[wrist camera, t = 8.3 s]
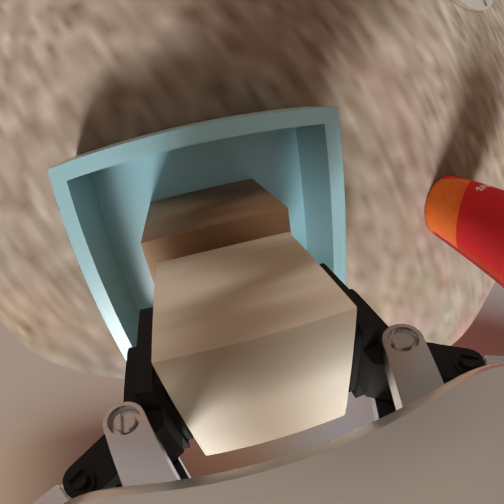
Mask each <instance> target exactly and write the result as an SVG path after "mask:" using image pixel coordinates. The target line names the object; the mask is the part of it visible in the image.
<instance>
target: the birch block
mask: <svg viewBox="0 0 504 504" xmlns="http://www.w3.org/2000/svg"><path fill="white" fill-rule="evenodd" d="M356 315H357V306H356V305H355V304H354V303H353V302H352V301H351V300H350V298H349V297H348V296H347V295H346V294H345V293H344V292H343V291H342V289H341V288H340V287H339V286H338V285H337V284H336V283H335V282H334V280H333V279H332V278H331V277H330V276H329V275H328V274H327V273H326V272H325V270H324V269H323V268H322V267H321V266H320V265H319V264H318V263H317V262H316V261H315V259H314V258H313V257H312V256H311V255H310V254H309V253H308V252H307V251H306V250H305V249H304V247H303V246H302V245H301V244H300V243H299V242H298V241H297V240H296V239H295V238H294V237H293V236H292V234H291V233H290V232H286V233H282V234H277V235H273V236H269V237H264V238H260V239H256V240H252V241H247V242H243V243H239V244H235V245H231V246H226V247H222V248H218V249H214V250H210V251H205V252H201V253H197V254H193V255H189V256H185V257H181V258H177V259H172V260H168V261H164V262H160V263H156V275H155V289H154V305H153V325H152V359H151V363H152V365H153V367H154V369H155V371H156V372H157V374H158V376H159V378H160V380H161V382H162V384H163V385H164V387H165V389H166V391H167V393H168V394H169V396H170V398H171V400H172V401H173V403H174V405H175V407H176V408H177V410H178V412H179V413H180V415H181V417H182V418H183V420H184V422H185V423H186V425H187V427H188V428H189V430H190V431H191V433H192V435H193V436H194V438H195V439H196V441H197V442H198V444H199V445H200V447H201V448H202V450H203V452H204V453H205V454H206V455H212V454H217V453H222V452H227V451H231V450H236V449H240V448H244V447H248V446H252V445H256V444H259V443H263V442H267V441H270V440H274V439H277V438H280V437H284V436H287V435H290V434H293V433H296V432H300V431H303V430H306V429H309V428H311V427H314V426H317V425H320V424H323V423H325V422H328V421H331V420H333V419H336V418H338V417H341V416H343V415H345V410H346V404H347V398H348V391H349V383H350V376H351V367H352V359H353V349H354V339H355V328H356Z"/></svg>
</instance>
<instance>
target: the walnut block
mask: <svg viewBox="0 0 504 504" xmlns="http://www.w3.org/2000/svg"><path fill="white" fill-rule="evenodd" d="M286 232H290V233H291V229H290V220H289V211H288V208H287V207H286V206H285V205H284V204H282V203H281V202H280V201H279V200H278V199H277V198H275V197H274V196H273V195H272V194H271V193H269V192H268V191H267V190H266V189H264V188H263V187H262V186H261V185H260V184H258V183H257V182H256V181H255V180H254V179H247V180H242V181H238V182H233V183H228V184H224V185H219V186H215V187H210V188H206V189H201V190H197V191H193V192H189V193H184V194H180V195H176V196H172V197H168V198H164V199H160V200H157V201H153V202H150V206H149V210H148V214H147V218H146V222H145V226H144V231H143V235H142V240H141V246H142V249H143V252H144V256H145V259H146V262H147V265H148V268H149V270H150V273H151V276H152V279H153V282H154V285H155V275H156V263H160V262H164V261H168V260H172V259H177V258H181V257H185V256H189V255H193V254H197V253H201V252H205V251H210V250H214V249H218V248H222V247H226V246H231V245H235V244H239V243H243V242H247V241H252V240H256V239H260V238H264V237H269V236H273V235H277V234H282V233H286Z"/></svg>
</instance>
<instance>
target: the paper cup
mask: <svg viewBox="0 0 504 504" xmlns="http://www.w3.org/2000/svg"><path fill="white" fill-rule="evenodd" d="M425 221H426V225H427V227H428V228H429V230H430V231H431V232H432V233H433V234H435V235H436V236H437V237H439V238H440V239H441V240H443V241H444V242H445V243H447V244H448V245H449V246H451V247H452V248H454V249H455V250H456V251H458V252H459V253H460V254H462V255H463V256H464V257H466V258H467V259H468V260H470V261H471V262H472V263H473V264H475V265H476V266H477V267H479V268H480V269H481V270H482V271H484V272H485V273H486V274H487V275H489V276H490V277H491V278H492V279H494V280H495V281H496V282H497V283H499V284H500V285H501V286H502V287H503V288H504V190H501V189H498V188H495V187H492V186H489V185H485V184H482V183H479V182H475V181H472V180H469V179H465V178H461V177H457V176H452V175H446V176H443V177H441V178H440V179H439V180H438V181H437V182H436V183H435V184H434V185H433V187H432V188H431V190H430V192H429V194H428V197H427V200H426V204H425Z"/></svg>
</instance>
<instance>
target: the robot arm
mask: <svg viewBox="0 0 504 504" xmlns="http://www.w3.org/2000/svg"><path fill="white" fill-rule="evenodd" d="M453 1H454V2H456V3H457V4H458V5H460V6H462V7H463V8H465V9H468V10H471V11H484V10H487V9H489V8H490V7H491V5H492V3H493V0H453ZM319 265H320V266H321V267H322V268H323V269H324V270H325V272H326V273H327V274H328V275H329V276H330V277H331V278H332V279H333V280H334V282H335V283H336V284H337V285H338V286H339V287H340V288H341V289H342V291H343V292H344V293H345V294H346V295H347V296H348V297H349V298H350V300H351V301H352V302H353V303H354V304H355V305H356V306H357V315H356V328H355V339H354V349H353V359H352V367H351V376H350V383H349V391H348V392H351V391H352V393H353V395H354V396H355V398H357V397H359V396H362V395H364V394H365V395H366V396H367V397H371V402H372V407H373V412H374V416H375V421H374V422H372V423H370V424H368V425H366V426H363V427H361V428H358V429H356V430H354V431H352V432H349V433H347V434H345V435H342V436H339V437H337V438H334V439H332V440H329V441H327V442H324V443H321V444H319V445H316V446H313V447H310V448H308V449H305V450H302V451H299V452H296V453H293V454H290V455H286V456H283V457H280V458H277V459H273V460H270V461H266V462H263V463H259V464H255V465H251V466H248V467H244V468H239V469H235V470H231V471H226V472H221V473H217V474H211V475H206V476H201V477H195V478H191V477H190V475H189V473H188V472H187V470H186V468H185V467H184V465H183V463H182V461H181V460H180V458H179V456H180V455H181V454H182V453H183V451H184V449H185V448H190V446H189V439H193V435H192V433H191V431H190V430H189V428H188V427H187V425H186V423H185V422H184V420H183V418H182V417H181V415H180V413H179V412H178V410H177V408H176V407H175V405H174V403H173V401H172V400H171V398H170V396H169V394H168V393H167V391H166V389H165V387H164V385H163V384H162V382H161V380H160V378H159V376H158V374H157V372H156V371H155V369H154V367H153V365H152V363H151V359H152V325H153V307H150V308H145V309H141V310H140V313H139V323H138V335H137V346H135V347H131V348H129V349H128V352H127V361H126V373H125V386H124V402H122V403H118V404H116V405H114V406H113V407H111V408H110V409H109V410H108V411H107V413H106V414H105V416H104V419H103V429H104V432H105V434H104V435H103V436H102V437H101V438H100V439H99V440H98V441H97V442H96V443H95V444H94V445H93V446H91V448H89V449H88V450H87V451H86V452H85V453H84V454H83V455H82V456H81V457H80V458H79V459H78V460H77V461H76V462H75V463H74V464H73V465H72V466H70V467H69V468H68V470H67V471H66V472H65V475H64V477H63V484H62V485H61V486H59V485H56V486H54V487H53V488H52V489H51V490H49V491H48V492H47V493H46V494H44V495H43V496H42V497H40V498H39V499H38V500H36V501H35V502H34V503H33V504H504V356H491V355H486V356H485V358H483V357H482V356H481V355H480V354H479V353H478V352H476V351H474V350H471V349H467V348H460V347H453V346H447V345H440V344H434V343H428V342H426V341H425V339H424V337H423V335H422V334H421V332H420V331H419V330H418V329H417V328H415V327H413V326H411V325H406V324H396V325H393V326H390V327H388V326H387V325H386V324H385V323H384V321H383V320H382V319H381V318H380V317H379V316H378V315H377V314H376V313H375V312H374V311H373V310H372V309H371V307H370V306H369V305H368V304H367V303H366V302H365V301H364V300H363V299H362V298H361V297H360V296H359V295H358V294H357V293H356V292H355V291H354V290H353V289H348V288H347V287H346V285H345V284H344V283H343V282H342V281H341V280H340V279H339V278H338V277H337V276H336V275H335V274H334V273H333V272H332V271H331V270H330V269H329V267H328V266H327V265H326V264H324V263H321V264H319Z"/></svg>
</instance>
